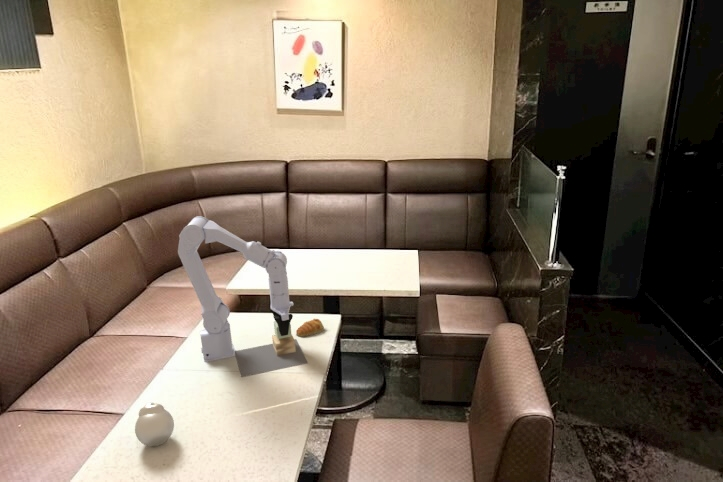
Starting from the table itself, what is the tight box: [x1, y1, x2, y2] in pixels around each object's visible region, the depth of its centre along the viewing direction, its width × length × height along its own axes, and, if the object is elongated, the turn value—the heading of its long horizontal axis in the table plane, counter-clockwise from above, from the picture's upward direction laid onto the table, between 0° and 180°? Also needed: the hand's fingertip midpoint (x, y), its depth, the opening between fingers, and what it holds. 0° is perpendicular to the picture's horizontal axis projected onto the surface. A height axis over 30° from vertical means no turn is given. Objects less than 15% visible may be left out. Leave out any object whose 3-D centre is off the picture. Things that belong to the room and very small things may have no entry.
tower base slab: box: [272, 342, 296, 356], centre depth 171 cm, size 6×6×2 cm
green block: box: [273, 320, 293, 339], centre depth 169 cm, size 4×4×4 cm
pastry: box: [295, 318, 325, 338], centre depth 182 cm, size 9×7×4 cm
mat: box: [234, 338, 309, 378], centre depth 167 cm, size 20×16×1 cm
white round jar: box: [134, 402, 175, 447], centre depth 130 cm, size 9×10×10 cm
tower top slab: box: [271, 333, 295, 350], centre depth 170 cm, size 6×6×2 cm
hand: (282, 331), depth 169 cm, fingers closed on green block, 4 cm apart
